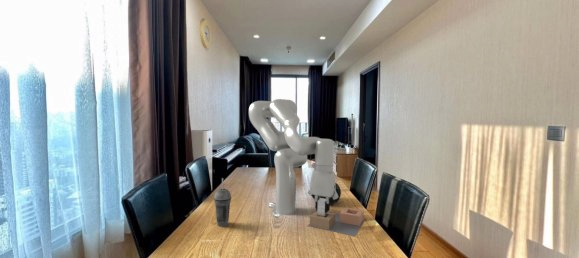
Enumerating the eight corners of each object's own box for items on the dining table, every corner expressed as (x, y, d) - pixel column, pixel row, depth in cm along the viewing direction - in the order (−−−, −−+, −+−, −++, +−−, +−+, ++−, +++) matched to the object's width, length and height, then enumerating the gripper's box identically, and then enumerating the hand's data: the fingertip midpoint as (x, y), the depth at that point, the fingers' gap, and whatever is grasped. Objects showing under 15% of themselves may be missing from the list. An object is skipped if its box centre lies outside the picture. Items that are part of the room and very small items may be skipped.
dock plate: (307, 229, 112) (307, 216, 112) (323, 214, 130) (323, 202, 130) (355, 240, 103) (355, 226, 103) (365, 222, 121) (365, 210, 121)
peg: (317, 223, 114) (317, 200, 113) (319, 220, 117) (320, 197, 116) (324, 224, 113) (325, 201, 112) (326, 222, 116) (327, 199, 115)
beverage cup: (213, 228, 112) (213, 181, 111) (213, 221, 119) (213, 177, 118) (231, 227, 114) (231, 180, 113) (230, 220, 121) (230, 176, 120)
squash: (349, 192, 148) (333, 170, 152) (338, 201, 135) (321, 176, 140) (331, 205, 154) (316, 183, 159) (319, 214, 142) (303, 190, 146)
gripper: (302, 167, 114) (301, 210, 115) (340, 172, 106) (338, 217, 107) (309, 164, 120) (307, 205, 122) (345, 169, 113) (343, 211, 114)
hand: (322, 210), depth 114 cm, fingers closed on peg, 3 cm apart
